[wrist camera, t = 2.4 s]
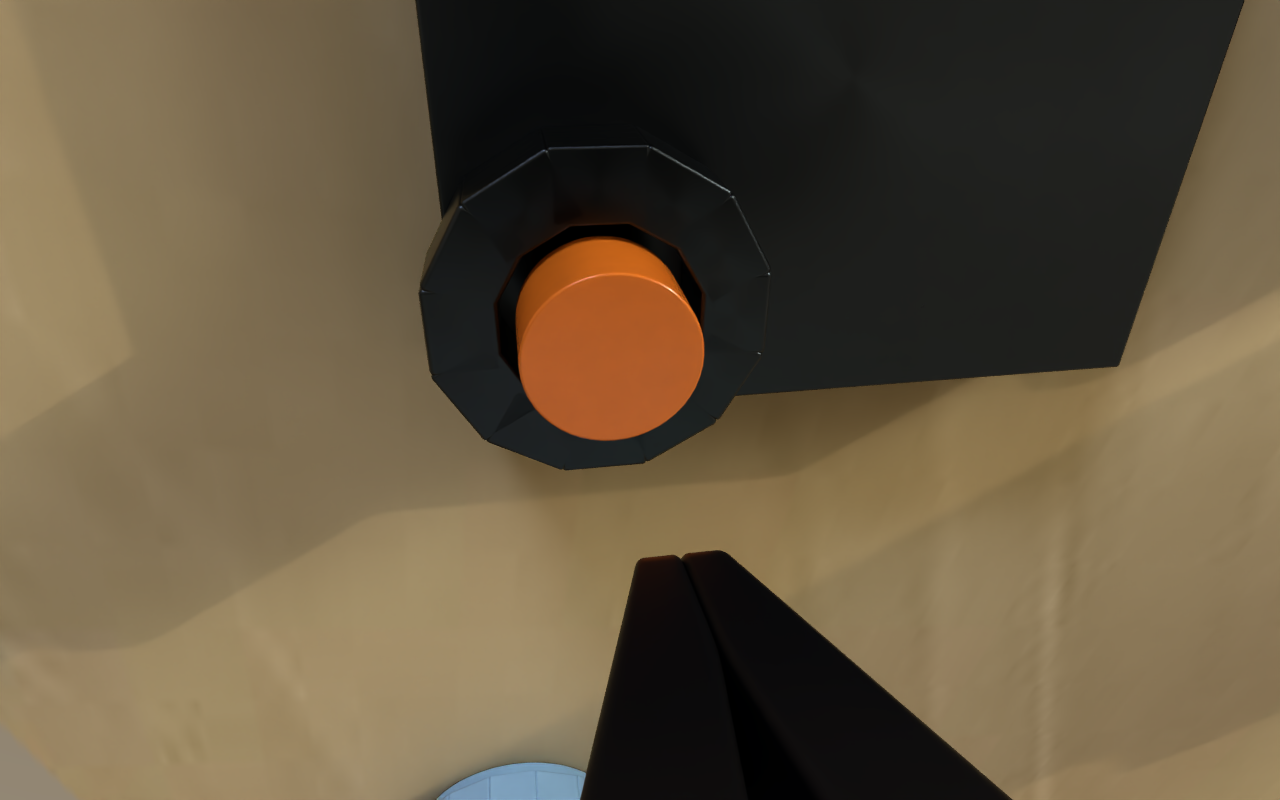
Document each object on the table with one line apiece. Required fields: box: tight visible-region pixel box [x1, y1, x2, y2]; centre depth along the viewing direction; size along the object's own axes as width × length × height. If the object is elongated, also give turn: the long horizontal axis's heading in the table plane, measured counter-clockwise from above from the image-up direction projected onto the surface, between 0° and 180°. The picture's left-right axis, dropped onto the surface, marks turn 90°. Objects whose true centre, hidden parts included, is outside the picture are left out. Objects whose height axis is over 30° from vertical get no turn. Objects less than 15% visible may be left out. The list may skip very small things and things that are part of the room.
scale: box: [415, 0, 1244, 470], centre depth 13 cm, size 14×12×4 cm
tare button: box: [515, 236, 704, 441], centre depth 12 cm, size 3×3×2 cm
